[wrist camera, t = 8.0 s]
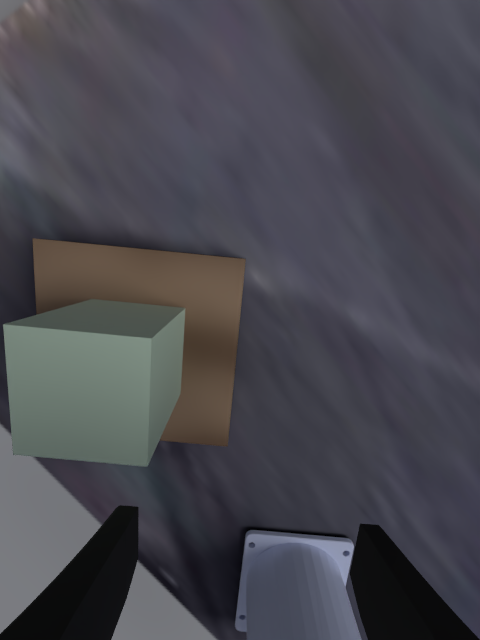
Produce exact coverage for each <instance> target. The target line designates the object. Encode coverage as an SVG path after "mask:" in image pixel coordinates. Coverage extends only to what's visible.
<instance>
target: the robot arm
mask: <svg viewBox="0 0 480 640" xmlns="http://www.w3.org/2000/svg"><path fill="white" fill-rule="evenodd" d="M251 542H253V543H251ZM353 549H354V545H353V543H352V541H351V540H350V539H348V538H340V537H329V536H318V535H306V534H295V533H284V532H272V531H261V530H249V531H248V532H247V533H246V536H245V544H244V552H243V560H242V569H241V577H240V585H239V594H238V602H237V610H236V619H235V628H236V629H237V630H238V631H243V632H247V640H361V637H360V634H359V631H358V627H357V624H356V621H355V618H354V614H353V611H352V608H351V605H350V601H349V598H348V595H347V592H346V588H345V586H346V581H347V577H348V572H349V568H350V563H351V558H352V554H353ZM137 560H138V507H133V506H118V507H117V508H116V509H115V510H114V511H113V513H112V514H111V515H110V516H109V518H108V519H107V520H106V521H105V522H104V524H103V525H102V526H101V527H100V529H99V530H98V531H97V532H96V533H95V534H94V536H93V537H92V538H91V539H90V540H89V541H88V543H87V544H86V545H85V546H84V547H83V549H82V550H81V551H80V552H79V553H78V554H77V555H76V556H75V557H74V559H73V560H72V561H71V562H70V563H69V564H68V565H67V566H66V567H65V568H64V570H63V571H62V572H61V573H60V574H59V575H58V576H57V577H56V578H55V579H54V580H53V581H52V582H51V583H50V584H49V585H48V587H47V588H46V589H45V590H44V591H43V592H42V593H41V594H40V595H39V596H38V597H37V598H36V599H35V600H34V601H33V602H32V603H31V604H30V605H29V606H28V607H27V608H26V609H25V610H24V611H23V612H22V613H21V614H20V615H19V616H18V617H17V618H16V619H15V620H14V621H13V622H12V623H11V624H10V625H9V626H8V627H7V628H6V629H5V630H4V631H3V632H2V633H1V634H0V640H111V638H112V636H113V633H114V630H115V628H116V625H117V622H118V620H119V617H120V614H121V611H122V609H123V606H124V603H125V601H126V598H127V595H128V591H129V588H130V584H131V581H132V578H133V574H134V570H135V567H136V563H137ZM350 576H351V580H352V585H353V589H354V593H355V597H356V601H357V605H358V609H359V613H360V617H361V620H362V623H363V626H364V629H365V632H366V635H367V638H368V640H479V638H478V637H477V636H476V635H475V634H474V633H473V632H472V631H471V630H470V629H469V628H468V627H467V626H466V625H465V624H464V623H463V622H462V620H461V619H460V618H459V617H458V616H457V615H456V614H455V613H454V612H453V611H452V609H451V608H450V607H449V606H448V605H447V604H446V603H445V602H444V601H443V599H442V598H441V597H440V596H439V595H438V594H437V593H436V591H435V590H434V589H433V588H432V587H431V586H430V585H429V584H428V582H427V581H426V580H425V579H424V578H423V577H422V575H421V574H420V573H419V572H418V571H417V570H416V568H415V567H414V566H413V565H412V564H411V563H410V561H409V560H408V559H407V558H406V557H405V555H404V554H403V553H402V552H401V551H400V549H399V548H398V547H397V546H396V545H395V544H394V542H393V541H392V540H391V539H390V538H389V536H388V535H387V534H386V533H385V532H384V530H383V529H382V528H381V527H380V526H379V525H371V524H360V527H359V532H358V537H357V541H356V546H355V551H354V556H353V561H352V566H351V570H350Z"/></svg>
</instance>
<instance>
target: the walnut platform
mask: <svg viewBox="0 0 480 640" xmlns="http://www.w3.org/2000/svg"><path fill="white" fill-rule="evenodd" d="M33 256H34V275H35V294H36V313H37V315H38V314H41V313H45V312H48V311H52V310H55V309H59V308H62V307H66V306H69V305H73V304H76V303H80V302H83V301H87V300H90V299H98V300H108V301H119V302H129V303H139V304H150V305H160V306H170V307H181V308H185V325H184V342H183V360H182V377H181V394H180V396H179V398H178V400H177V402H176V405H175V407H174V409H173V411H172V413H171V416H170V418H169V420H168V422H167V424H166V427H165V429H164V431H163V433H162V435H161V438H160V440H161V441H172V442H183V443H194V444H205V445H216V446H228V436H229V425H230V415H231V405H232V395H233V384H234V374H235V364H236V353H237V343H238V333H239V322H240V312H241V302H242V292H243V281H244V271H245V261H246V259H243V258H233V257H223V256H212V255H202V254H192V253H181V252H171V251H161V250H151V249H140V248H130V247H120V246H109V245H99V244H89V243H79V242H68V241H57V240H45V239H33Z"/></svg>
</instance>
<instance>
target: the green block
mask: <svg viewBox="0 0 480 640" xmlns="http://www.w3.org/2000/svg"><path fill="white" fill-rule="evenodd" d="M184 325H185V308H181V307H170V306H160V305H150V304H139V303H129V302H119V301H108V300H98V299H90V300H87V301H83V302H80V303H76V304H73V305H69V306H66V307H62V308H59V309H55V310H52V311H48V312H45V313H41V314H38V315H34V316H31V317H27V318H24V319H20V320H17V321H13V322H10V323H6V324H3V329H4V342H5V355H6V368H7V381H8V394H9V407H10V420H11V433H12V446H13V455H24V456H35V457H46V458H57V459H68V460H79V461H90V462H101V463H112V464H123V465H134V466H145V467H147V466H148V464H149V462H150V460H151V457H152V455H153V453H154V451H155V449H156V446H157V444H158V442H159V440H160V438H161V435H162V433H163V431H164V429H165V427H166V424H167V422H168V420H169V418H170V416H171V413H172V411H173V409H174V407H175V405H176V402H177V400H178V398H179V396H180V394H181V377H182V360H183V342H184Z"/></svg>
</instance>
